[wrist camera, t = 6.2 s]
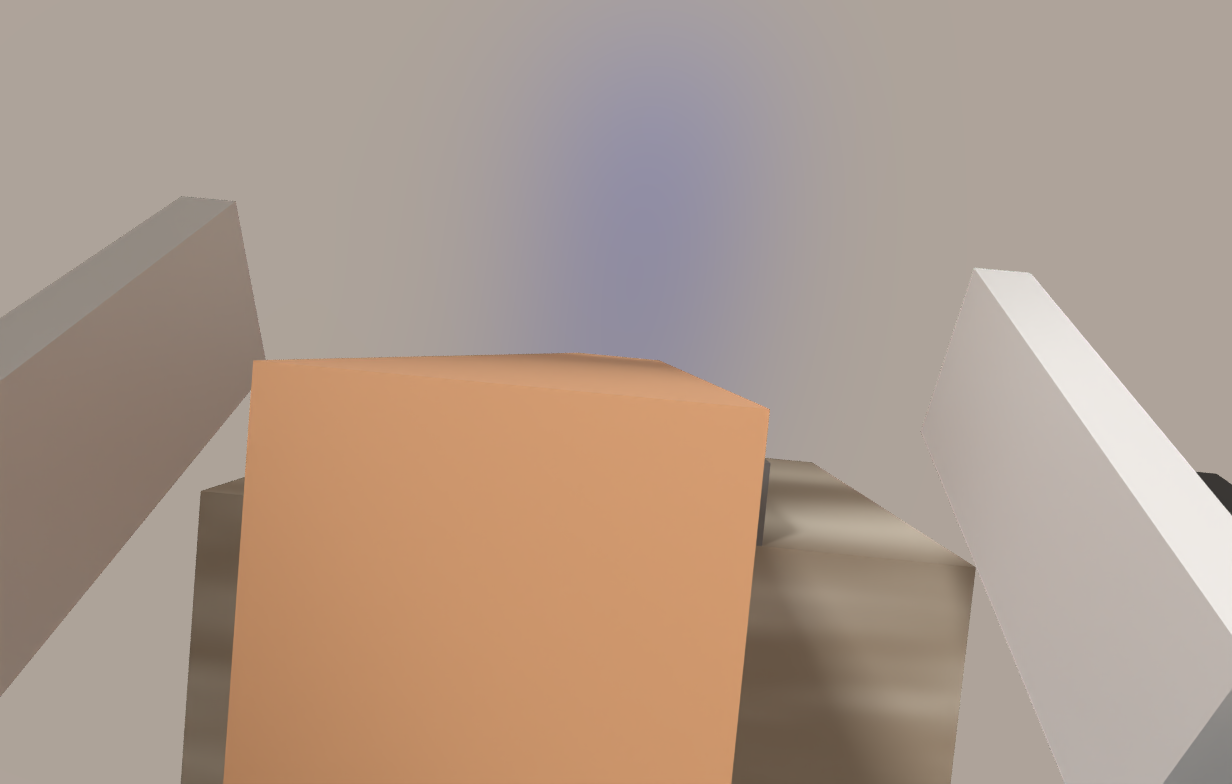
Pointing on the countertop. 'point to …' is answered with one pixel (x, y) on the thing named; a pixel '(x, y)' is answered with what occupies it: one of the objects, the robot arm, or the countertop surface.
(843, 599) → the grey-brown tall block
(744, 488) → the orange bar
